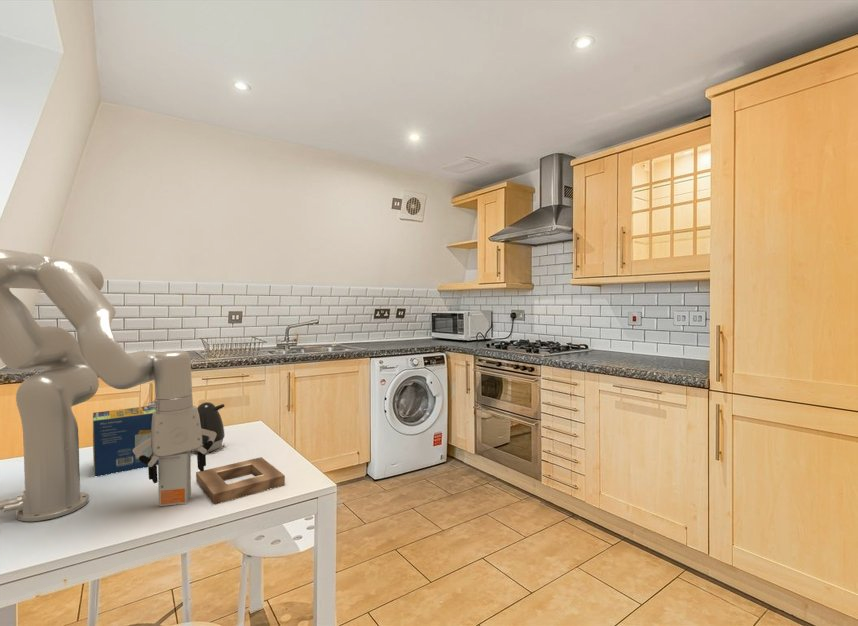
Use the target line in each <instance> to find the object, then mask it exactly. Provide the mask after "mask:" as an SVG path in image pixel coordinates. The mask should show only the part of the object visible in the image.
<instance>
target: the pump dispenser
mask: <svg viewBox="0 0 858 626" xmlns="http://www.w3.org/2000/svg"><path fill="white" fill-rule="evenodd" d="M223 408H225V404H224V403H222V404H218V405H217V406H216V405H214V403H212V402H210V401H209V402H207V401H205V402H203V403H201V404H199V405H198V406H197V409H198V413H199V418H200V424H201V428H202V429H206V430H210V431H213V432H215V433H217V436H216V438H215V440H214V442H213V445H212V446H211V447H210V448H209V450H208V451H207V453H211V452H213V451H216V450H217V449H218V448H220V447H221V446H222V443H223V441H224V439H225V427H224V424H223V423H224V422H223V420H222V417H221V413H220V412H219V410H221V409H223ZM208 437H209V436H205V435H202V446H203V445H204V444H205V442H206V441H207V440H208ZM194 451H195V452H196V453H198V450H197V449H196V450H194Z"/></svg>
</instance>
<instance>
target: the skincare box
mask: <svg viewBox="0 0 858 626" xmlns="http://www.w3.org/2000/svg"><path fill="white" fill-rule="evenodd" d="M191 452H192V451H188V452H184V453H179V454H175V455H170V456H166V457H159V459H158V465H157V478H158V482H157V484H158V488H157V491H158V492H157V493H158V507H166V506H176V504H177V505H186V504H185V503H187V504H188V502H189V500H190V499H191V497H192V487H191V484H192V481H191V480H192V479H191V478H192V474H191V471H192V469H191V467H192V466H191V463H192V461H191V460H192V459H191V456H192V455H191V454H192V453H191Z"/></svg>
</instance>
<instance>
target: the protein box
mask: <svg viewBox="0 0 858 626" xmlns="http://www.w3.org/2000/svg"><path fill="white" fill-rule="evenodd" d="M155 411H156V409H154V408H150V409H149V407H148V405H145V406H138V407H129V408H122V409H121V408H120V409H114V410H107V411H105V410H104V411H96V412H93V413H92V451H93V454H92V455H93V457H92V458H93V459H92V460H93V475H94V477H95V476H97V477H102V476H107V475H111V473H113V474H116V472H118V473H122V471H123V472H127V471H133V470H132V469H134V470H137V469H138V468H139V469H143V467H144V468H148V465H146V464H144V463H143V462H141V461H140V460H139V459H138V458H137V457H136V455H135V454H134V453H133V449H134V448H135V447H137V446H138V445H140V444H141V443H143V442H144V441H146V440H147V439H149V438H150V437H151V423H152V416H153V412H155ZM142 453H143V455H145V456H147V457H149V456H150V455H151V454H152V450H151V445H150V446H149V447H147V448H146V449H144V450H143V451H142ZM155 464H156V466H158V460H157V461H156V463H155ZM106 474H107V475H106ZM101 475H102V476H101Z"/></svg>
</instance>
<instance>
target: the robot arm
mask: <svg viewBox="0 0 858 626" xmlns="http://www.w3.org/2000/svg"><path fill="white" fill-rule="evenodd" d="M104 280H105V279H104V277H103V274H102V272H101V270H100V269H98V268H97V267H96V266H95V265H94V264H91V263H89V262H85V261H80V260H79V261H77V260H71V259H66V258H59V257H56V256H55V257H54V256H49V255H45V254H38V253H33V252H25V251H19V250H18V251H17V250H11V249H2V248H0V360H1V361H2V363H3V364H4V365H5V366H6V367H7V368H8V369H10V370H13V371H17V372H18V371H19V372H24V371H31V370H36V369H37V370H38V369H42V368H43V369H44V371H41V372H38V373H34V374H33V375H31V376H29V377H27V378H25V379H24V380H23V381H22V382H21V383H20V384H19V386H18V388H17V390H16V393H15V404H16V406H17V410H18V413H19V416H20V419H21V420H20V421H21V425H22V443H23V462H24V463H23V465H24V466H23V468H24V471H23V472H24V490H23V494H22V495H18V496H17V497H16V498H11V499H4V500H0V511H3V512H4V513H7V512H12V511H15V510H16V513H15V516H16V519H17V520H19V521H23V522H39V521H46V520H51V519H55V518H60V517H62V516H65V515H69V514H71V513H73V512H75V511H78V510H80V509H82V508H83V507H84V506H86V505H87V503H88V502H89V501H90V500H89V494H88V493H86V492H84V491H81V482H80V481H81V480H80V479H81V477H80V441H79V440H80V439H79V426H78V422H77V418H76V416H75V414H74V412H73V409H72V407H73V406H77V405H79V404H83V403H85V402H87V401H89V400H90V399H92V398H93V397H94V396H95V395H96V394H97V392H98V390H99V386H100V381H99V379H100V380H101V381H102V382H103V383H105V384H106V385H108V387H111V388H113V389H116V390H128V389H132V388H134V387H137V386H140V385H143V384H147V383H148V382H152V381H153V383H154V396H155V397H154V400H153V401H151V402H147V406H148V407H149V409H150V408H154V409H156V411H155V412H153V416H152V423H151V437H150V438H149V439H147V440H146V441H144V442H143V443H141V444H140V445H138V446H137V447H135V448H134V449H133V453H134V454H135V455H136V457H137V458H138V459H139V460H140V461H141V462H143V463H144V464H146V465H148V467H147V469H148V479H149V481H150V480H152V483H153V484H158V465H156V464H155V463H156V461H157V460H158V459H159V457H166V456H170V455H175V454H179V453H184V452H188V451H191V452H192V451H195V450H196V449H197V450H198V452H196V453H197V454H196V461H197V463H196V464H197V469H198V471H201V472H202V471H204V470H205V467H206V466H207V456H206V454H207V453H208V452H207V451H208V450H209V448H210V447H211V446H212V445H213V442H214V440H215V438H216V436H217V433H215V432H213V431H210V430H206V429H202V428H201V424H200V418H199V413H198V409H197V408H198V406H196V405H194V403H193V401H194V400H193V385H192V384H193V382H192V381H193V380H192V364H191V354H190V352H188V351H186V350H168V351H151V350H139V351H134V352H129V353H127V352H126V351H125V349H124V348H123V347H122V346H121V345H120V343H118V341H117V340H116V338H115V336H114V335H113V332H112V329H111V326H112V325H111V324H112V321H113V318H114V317H115V316H116V312H117V311H116V309H115V307H114V306H113V304H112V303H111V302H110V301H109V300H108V299H107V297H105V295H104V294H103V293H102V292H101V290H102V289H103V287H104ZM10 289H29V290H32V289H33V290H39V291H42V292H43V293H44V294H45V295H46V297H48V299H49V300H50V301H51V302H52V303H53V304H54V305H55V306H56V308H57V309H58V310H59V311H60V313H61V314H62V315H63V316H64V317H65V319H67V321H68V322H69V323H70V324H71V325H72V327H73V328H74V330H76V331H75V332H76V337H75V336H74V335H73V334H72V333H70V332H69V331H68V330H67V329H64V328H61V327H59V326H41V325H39V324H38V322H37V320H36V319H35V318H34V317H33V315H32V313H31V311H30V310H29V308H28V307H27V305H25V303H24V302H23V301H22V300H21V299H20V298H18V297H17V296H16V295H15V294H13V292H11V290H10ZM202 435H205V436H209V437H208V440H207V441H206V442H205V444H204V445H203V446H202ZM150 445H151V450H152V454H151V455H150V456H149V457H147V456H145V455H143V453H142V451H143V450H144V449H146V448H147V447H149V446H150Z"/></svg>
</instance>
